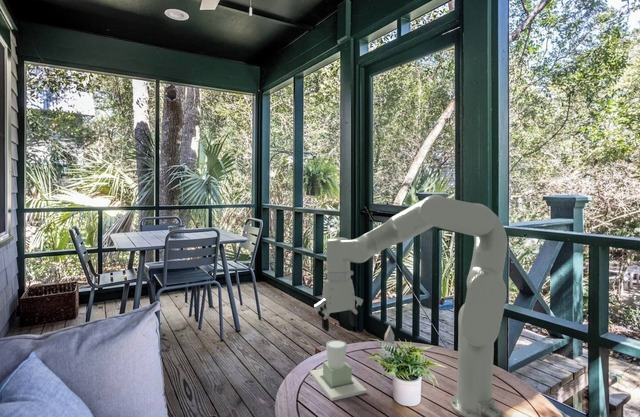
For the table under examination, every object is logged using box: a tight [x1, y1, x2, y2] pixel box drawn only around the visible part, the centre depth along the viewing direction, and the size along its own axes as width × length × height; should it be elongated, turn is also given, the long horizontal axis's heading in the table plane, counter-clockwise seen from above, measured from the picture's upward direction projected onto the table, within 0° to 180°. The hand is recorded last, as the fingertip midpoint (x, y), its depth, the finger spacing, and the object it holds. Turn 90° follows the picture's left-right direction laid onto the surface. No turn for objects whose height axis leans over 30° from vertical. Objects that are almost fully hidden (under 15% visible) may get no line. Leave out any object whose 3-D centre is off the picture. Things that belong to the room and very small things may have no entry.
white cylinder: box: [325, 339, 348, 369], centre depth 122 cm, size 7×7×7 cm
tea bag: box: [383, 324, 395, 345], centre depth 146 cm, size 4×7×10 cm, turn 168°
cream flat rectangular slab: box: [309, 367, 367, 402], centre depth 123 cm, size 18×12×1 cm, turn 23°
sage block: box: [322, 360, 353, 387], centre depth 123 cm, size 7×7×5 cm
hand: (339, 327), depth 122 cm, fingers open, 9 cm apart
